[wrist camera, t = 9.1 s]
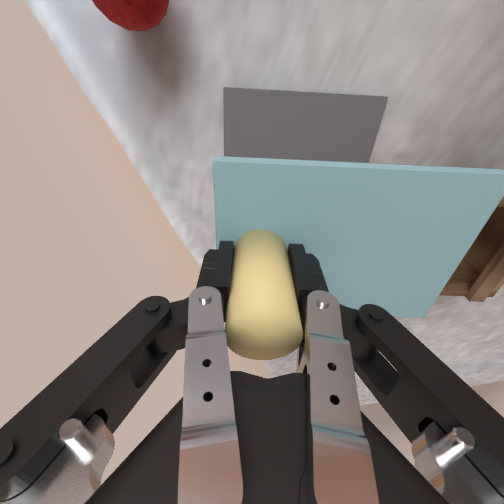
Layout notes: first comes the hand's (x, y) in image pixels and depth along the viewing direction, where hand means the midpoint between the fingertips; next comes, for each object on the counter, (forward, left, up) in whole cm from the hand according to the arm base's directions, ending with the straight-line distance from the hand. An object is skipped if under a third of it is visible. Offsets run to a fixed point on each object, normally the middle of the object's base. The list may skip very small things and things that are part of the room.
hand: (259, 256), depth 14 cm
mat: (0, +5, -19) cm, 19 cm away
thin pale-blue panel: (0, +5, -1) cm, 5 cm away
